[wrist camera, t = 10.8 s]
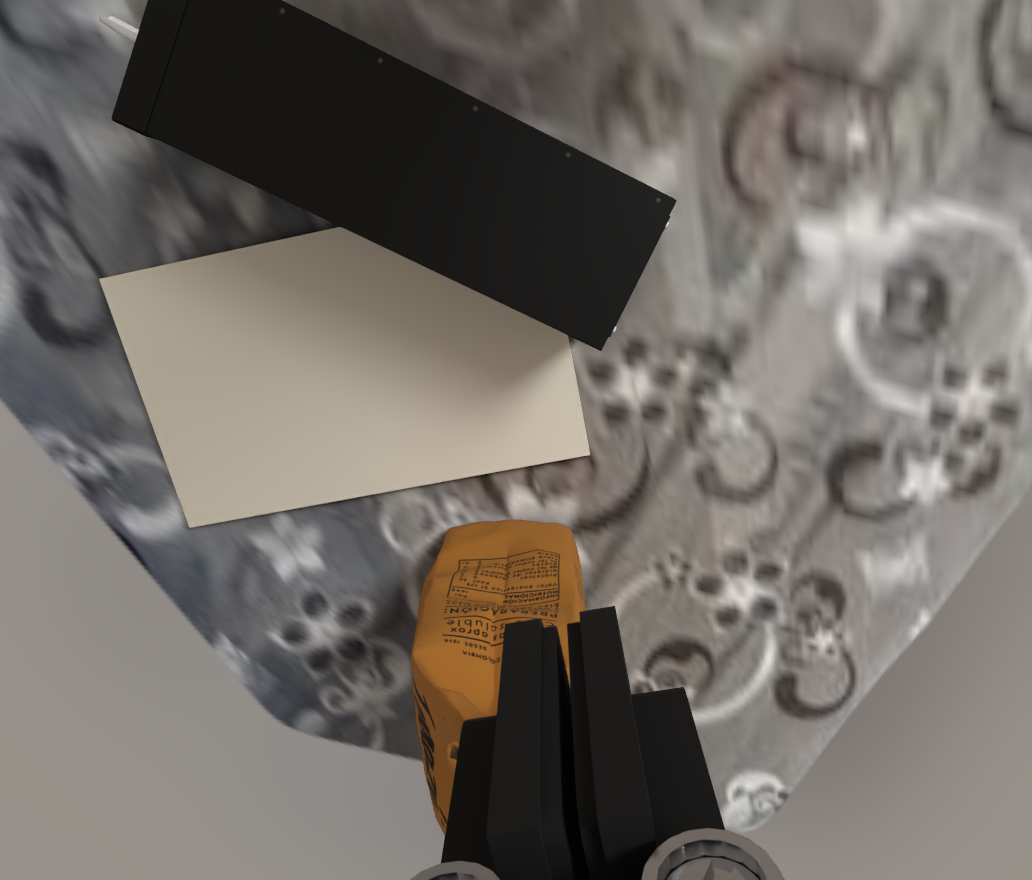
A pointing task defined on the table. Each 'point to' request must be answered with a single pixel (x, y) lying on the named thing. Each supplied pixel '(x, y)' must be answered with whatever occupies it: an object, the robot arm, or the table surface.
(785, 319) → the table surface
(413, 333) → the mat
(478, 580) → the coffee package
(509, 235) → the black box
